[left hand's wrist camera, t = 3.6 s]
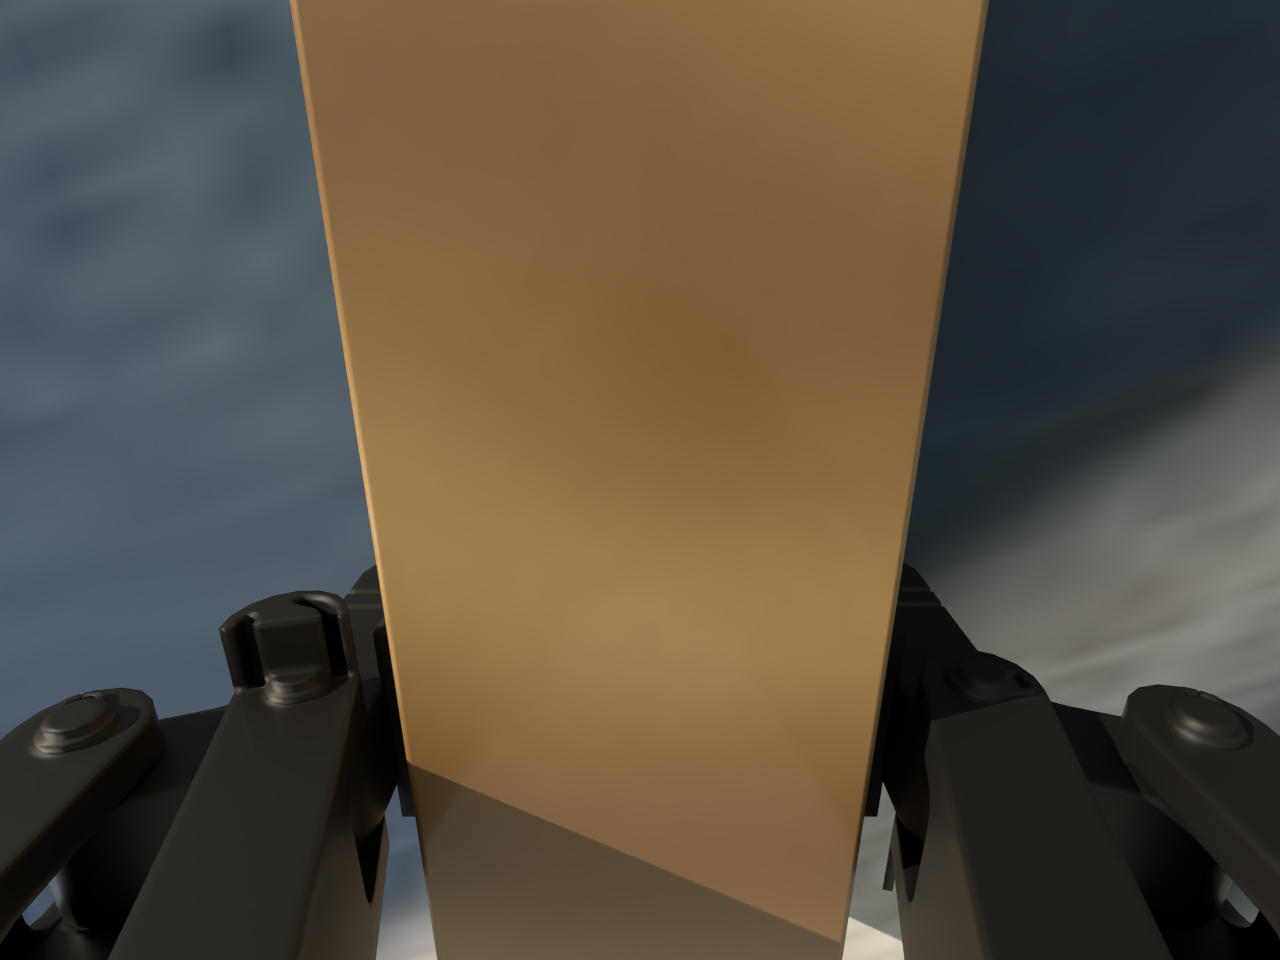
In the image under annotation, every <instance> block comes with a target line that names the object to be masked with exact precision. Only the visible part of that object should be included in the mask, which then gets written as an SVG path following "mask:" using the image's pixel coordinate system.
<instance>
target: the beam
mask: <svg viewBox="0 0 1280 960" xmlns="http://www.w3.org/2000/svg"><path fill="white" fill-rule="evenodd" d="M290 5H291V11H292V18H293V24H294V31H295V37H296V44H297V50H298V57H299V63H300V70H301V76H302V83H303V89H304V96H305V102H306V109H307V115H308V122H309V128H310V135H311V141H312V148H313V154H314V161H315V167H316V174H317V180H318V187H319V193H320V200H321V206H322V213H323V219H324V226H325V232H326V239H327V245H328V252H329V258H330V265H331V271H332V278H333V284H334V291H335V297H336V304H337V310H338V317H339V323H340V330H341V336H342V343H343V349H344V356H345V362H346V369H347V375H348V382H349V388H350V395H351V401H352V408H353V414H354V421H355V427H356V434H357V440H358V447H359V453H360V460H361V466H362V473H363V479H364V486H365V492H366V499H367V505H368V512H369V518H370V525H371V531H372V538H373V544H374V551H375V557H376V564H377V570H378V577H379V583H380V590H381V596H382V603H383V609H384V616H385V622H386V629H387V635H388V642H389V648H390V655H391V661H392V668H393V674H394V681H395V687H396V694H397V700H398V707H399V713H400V720H401V726H402V733H403V739H404V746H405V752H406V759H407V765H408V772H409V778H410V785H411V791H412V798H413V804H414V811H415V817H416V824H417V830H418V837H419V843H420V850H421V856H422V863H423V869H424V876H425V882H426V889H427V895H428V902H429V908H430V915H431V921H432V928H433V934H434V941H435V947H436V954H437V960H842V956H843V950H844V943H845V937H846V930H847V924H848V917H849V911H850V904H851V898H852V891H853V885H854V878H855V872H856V865H857V859H858V852H859V846H860V839H861V833H862V826H863V820H864V813H865V807H866V800H867V794H868V787H869V780H870V774H871V767H872V761H873V754H874V748H875V741H876V735H877V728H878V722H879V715H880V709H881V702H882V696H883V689H884V683H885V676H886V670H887V663H888V657H889V650H890V644H891V637H892V631H893V624H894V618H895V611H896V605H897V598H898V592H899V585H900V579H901V572H902V565H903V559H904V552H905V546H906V539H907V533H908V526H909V520H910V513H911V507H912V500H913V494H914V487H915V481H916V474H917V468H918V461H919V455H920V448H921V442H922V435H923V429H924V422H925V416H926V409H927V403H928V396H929V390H930V383H931V377H932V370H933V363H934V357H935V350H936V344H937V337H938V331H939V324H940V318H941V311H942V305H943V298H944V292H945V285H946V279H947V272H948V266H949V259H950V253H951V246H952V240H953V233H954V227H955V220H956V214H957V207H958V201H959V194H960V188H961V181H962V175H963V168H964V162H965V155H966V148H967V142H968V135H969V129H970V122H971V116H972V109H973V103H974V96H975V90H976V83H977V77H978V70H979V64H980V57H981V51H982V44H983V38H984V31H985V25H986V18H987V12H988V5H989V0H290Z"/></svg>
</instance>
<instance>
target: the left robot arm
mask: <svg viewBox="0 0 1280 960" xmlns="http://www.w3.org/2000/svg"><path fill="white" fill-rule="evenodd" d="M219 632H220V636H221V640H222V643H223V647H224V651H225V655H226V659H227V663H228V667H229V671H230V675H231V679H232V683H233V687H234V690H235V692H234V695H233V697H232V699H231V701H230V703H229V705H226V706H222V707H218V708H214V709H210V710H205V711H200V712H195V713H190V714H185V715H180V716H175V717H170V718H165V719H160V720H158V716H157V713H156V710H155V707H154V704H153V700H152V699H151V698H150V697H149V696H148V695H146V694H145V693H144V692H143V691H140V690H134V689H128V688H115V689H106V690H96V691H91V692H86V693H84V694H83V695H80V694H79V695H76V696H73V697H70V698H67V699H65V700H63V701H61V702H60V703H58V704H55V705H53V706H51V707H49V708H47V709H44V710H42V711H40V712H38V713H37V714H35V715H34V716H32V717H31V718H29V719H28V720H26V721H25V722H23V723H22V724H20V725H19V726H17V727H16V728H15V729H13V730H12V731H11V732H10V733H9V734H7V735H6V736H5V737H4V738H2V739H1V740H0V960H376V952H377V944H378V935H379V927H380V918H381V910H382V902H383V893H384V885H385V876H386V868H387V859H388V851H389V839H388V831H387V825H386V820H385V814H384V813H385V811H386V809H387V806H388V804H389V802H390V799H391V797H392V794H393V792H394V790H395V787H396V785H397V786H398V792H399V799H400V805H401V811H402V817H412V816H415V811H414V804H413V798H412V791H411V785H410V778H409V772H408V765H407V759H406V752H405V746H404V739H403V733H402V726H401V720H400V713H399V707H398V700H397V694H396V687H395V681H394V674H393V668H392V661H391V655H390V648H389V642H388V635H387V629H386V622H385V616H384V609H383V603H382V596H381V590H380V583H379V577H378V570H377V564H376V565H375V566H373V567H371V568H370V569H368V570H367V571H365V572H364V573H363V574H362V575H361V577H360V578H359V579H358V581H357V582H356V583H355V585H354V586H353V587H352V589H351V590H350V594H347V595H346V597H345V598H344V599H342V598H341V597H340V596H338V595H337V594H332V593H328V592H323V591H296V592H291V593H286V594H280V595H275V596H272V597H269V598H266V599H263V600H261V601H258V602H255V603H252V604H250V605H248V606H247V607H245V608H243V609H242V610H240V611H238V612H236V613H235V614H233V615H231V616H230V617H229V618H228V619H227V620H226V622H225V623H224V624H223V625H222V626H221V627H220V628H219ZM882 783H884V785H885V787H886V790H887V792H888V794H889V797H890V799H891V801H892V804H893V806H894V809H895V811H896V814H895V820H894V825H893V831H892V837H891V842H890V848H889V854H888V860H887V865H886V871H885V877H884V884H883V890H888V891H892V890H893V885H894V879H895V883H896V891H897V900H898V908H899V917H900V925H901V933H902V942H903V950H904V959H905V960H1280V736H1279V735H1278V734H1276V733H1275V732H1274V731H1273V730H1272V729H1270V728H1269V727H1268V726H1267V725H1265V724H1264V723H1263V722H1261V721H1259V720H1258V719H1256V718H1255V717H1253V716H1252V715H1250V714H1249V713H1247V712H1246V711H1244V710H1243V709H1241V708H1239V707H1237V706H1235V705H1233V704H1231V703H1228V702H1226V701H1224V700H1222V699H1220V698H1218V697H1217V696H1215V695H1212V694H1209V693H1206V692H1203V691H1200V692H1199V691H1197V690H1196V689H1191V688H1186V687H1178V686H1168V685H1159V684H1157V685H1151V686H1145V687H1139V688H1137V689H1136V690H1135V691H1134V692H1132V693H1131V694H1130V695H1129V696H1128V698H1127V702H1126V705H1125V708H1124V711H1123V714H1122V717H1120V716H1115V715H1110V714H1105V713H1100V712H1095V711H1090V710H1085V709H1080V708H1075V707H1070V706H1066V705H1062V704H1058V703H1055V702H1051V701H1050V700H1049V697H1048V695H1047V693H1046V691H1045V690H1044V689H1043V687H1042V686H1041V685H1040V683H1039V682H1038V681H1037V680H1036V678H1035V677H1034V676H1033V675H1031V674H1030V673H1028V672H1027V671H1025V670H1024V669H1022V668H1021V667H1020V666H1018V665H1017V664H1015V663H1013V662H1010V661H1008V660H1005V659H1003V658H1001V657H998V656H996V655H994V654H989V653H985V652H980V651H977V649H976V648H975V647H974V646H973V644H972V643H971V642H970V640H969V639H968V638H967V636H966V635H965V634H964V632H963V631H962V630H961V628H960V627H959V626H958V624H957V623H956V622H955V621H954V619H953V618H952V617H951V615H950V614H949V613H948V611H947V610H946V609H945V607H941V602H940V601H939V599H938V598H937V597H936V596H935V594H934V593H933V592H930V588H929V586H928V585H927V584H926V582H925V581H924V580H923V578H922V577H921V576H920V574H919V573H918V572H917V571H916V570H915V569H914V568H912V567H911V566H909V565H907V564H906V563H904V562H903V565H902V572H901V579H900V585H899V592H898V598H897V605H896V611H895V618H894V624H893V631H892V637H891V644H890V650H889V657H888V663H887V670H886V676H885V683H884V689H883V696H882V702H881V709H880V715H879V722H878V728H877V735H876V741H875V748H874V754H873V761H872V767H871V774H870V780H869V787H868V794H867V800H866V807H865V813H864V816H868V817H877V814H878V808H879V802H880V796H881V789H882ZM1233 881H1234V882H1235V884H1236V885H1237V886H1238V887H1239V888H1240V889H1241V890H1242V891H1243V892H1244V894H1245V895H1246V896H1247V897H1248V898H1249V899H1250V900H1251V901H1252V903H1253V904H1254V905H1255V906H1256V907H1257V908H1258V909H1259V912H1258V915H1257V917H1256V919H1255V921H1254V922H1253V923H1249V922H1248V921H1247V920H1246V919H1245V918H1244V917H1243V916H1241V915H1240V914H1239V913H1238V912H1237V911H1236V909H1235V908H1234V907H1233V906H1232V905H1231V904H1230V902H1229V901H1228V900H1227V899H1226V896H1227V894H1228V891H1229V889H1230V887H1231V884H1232V882H1233ZM47 885H48V886H49V888H50V891H51V893H52V895H53V898H54V900H55V901H54V903H53V904H52V905H51V906H50V907H49V908H48V910H47V911H46V912H45V913H44V914H43V915H42V916H41V917H40V918H39V919H38V920H36V921H35V922H34V923H33V924H32V925H31V926H28V925H27V924H26V923H25V920H24V918H23V916H22V913H23V912H24V911H25V910H26V909H27V907H28V906H29V905H30V904H31V903H32V902H33V901H34V900H35V898H36V897H37V896H38V895H39V894H40V893H41V892H42V891H43V889H44V888H45V887H46V886H47Z"/></svg>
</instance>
